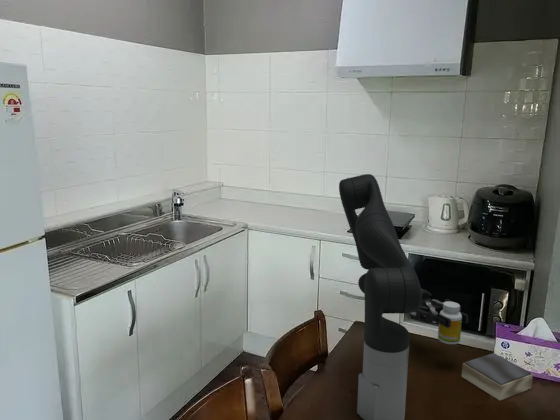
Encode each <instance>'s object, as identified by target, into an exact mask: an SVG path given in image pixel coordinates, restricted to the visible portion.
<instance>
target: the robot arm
mask: <svg viewBox="0 0 560 420" xmlns="http://www.w3.org/2000/svg"><path fill="white" fill-rule="evenodd" d="M338 191H339V196H340V201H341V205H342V208H343V211H344V214H345V216H346V220H347V223H348V226H349V228H350V231H351V234H352V237H353V239H354V243H355V248H356V253H357V255H358V261H359V264H360V267H361V268H363V269H364V270H367V271H366V272H365V273H364V274H362V275H360V277H359V278H358V280H357V281H358V284H357V285H358V288H359V289H360V291H361V293H363V295H364V321H363V323H364V325H363V327H364V333H363V334H364V335H363V355H362V358H363V359H362V360H363V361H362V372H361V373H359V374H358V381H357V383H358V385H357V386H358V387H357V404H356V405H357V406H356V407H357V408H356V413H357V414H358V415H359V417H360V418H361V419H363V420H405V416H406V415H405V414H406V401H407V399H406V398H407V397H406V396H407V383H408V382H407V381H408V371H409V370H408V367H409V366H408V365H409V356H410V355H409V353H410V338H411V336H410V332H409V330H408V329H407V328H406V326H404V325H402V324H400V323H398V322H396V321H393V320H391V319H388V318H386V317H384V316H383V314H384V315H385V314H409V317H411V318H413V319H415V320H418V321H420V322H423V323H426V324H431V322H432V324H433V323H434V324H438V325H439V324H441V325H443V326H445V327H447V328H449V327H450V326H451V320H450V319H449V318H447V317H445V316H443V315H441V314H440V312H441V311H442V310H444V309H443V303H444V302H448V301H449V302H453V301H452V300H451V299H447V298H445V300H444V301H443V302H442V301H441V300H439V299H434V296H432V293H431V292H429V291H427V290H425V289H423V288H422V287H421V283H420V280H419V277H418V274H417V272H416V271H415V269H414V267H413V265H412V264H411V262H410V260H409V259H408V257H407V255H406V253H405V252H404V250H403V247H402V245H401V242H400V240H399V237H398V234H397V232H396V228H395V226H394V224H393V221H392V219H391V217H390V215H389V212H388V210H387V209H386V205H385V203H384V199H383V196H382V192H381V189H380V186H379V184H378V180H377V179H376V177H375V176H374V175H373V174H370V173H367V174H364V173H363V174H361V175H356V176H352V177H347V178H345V179H344V178H343V179H341V180H340V181H339V183H338ZM360 209H362V211H361V212H360V213H359V215H358V214H357V212H356V210H360ZM461 310H462V306H461V305H460V311H459V312H460V313H461V315H462V323H463V324H468V323H469V315H468V314H466V313H465V312H462V311H461Z"/></svg>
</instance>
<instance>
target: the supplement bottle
mask: <svg viewBox="0 0 560 420" xmlns="http://www.w3.org/2000/svg"><path fill="white" fill-rule="evenodd" d="M443 302H444V303H443V310H442V311H441V312H440V314H441V315H443V316H445V317H447V318H449V319H450V320H451V326H450V327H449V328H447V327H445V326H443V325H441V324H439V323H438V329H437V338H438V340H439V341H440V342H441V343H443V344H447V345H457V344H459V343H460V341H461V335H462V332H461V331H462V323H463V322H462V315H461V313H460V312H461V310H460V306H461V305H460V304H459V303H457V302H454V301H452V302H449V301H448V302H445V301H443ZM459 311H460V312H459Z"/></svg>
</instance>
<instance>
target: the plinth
mask: <svg viewBox="0 0 560 420" xmlns="http://www.w3.org/2000/svg"><path fill="white" fill-rule="evenodd" d="M533 377H534V374H533V373H532V372H530V371H528V370H527V369H525V368H523V367H521V366H519V365H517V364H515V363H514V362H512V361H509V360H508V359H506V358H504V357H502V356H501V355H499V354H497V353H495V352H493V353H490V354H487V355H483V356H480V357H476V358H475V359H470V360H468V361H465V362H462V367H461V378H463V379H465V380H466V381H468V382H469V383H471V384H472V385H474V386H475V387H477V388H479V389H480V390H483V392H486V393H487V394H488V395H489V396H492V397H493V398H495V399H497V400H498V401H499V402H500V401H503V400H505V399H507V398H509V397H510V398H511V397H513V396H516V395H518V394H520V393H524V392H525V391H529V390H531V389H532V386H533V379H534V378H533ZM528 389H529V390H528Z"/></svg>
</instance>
